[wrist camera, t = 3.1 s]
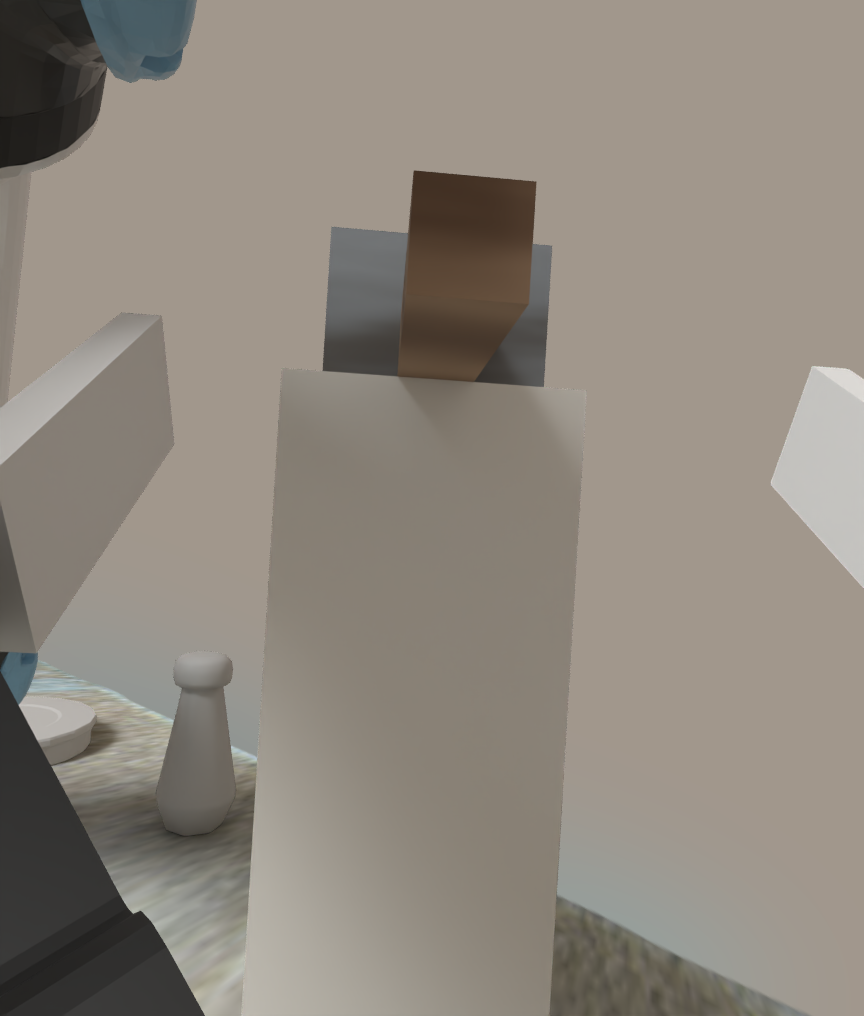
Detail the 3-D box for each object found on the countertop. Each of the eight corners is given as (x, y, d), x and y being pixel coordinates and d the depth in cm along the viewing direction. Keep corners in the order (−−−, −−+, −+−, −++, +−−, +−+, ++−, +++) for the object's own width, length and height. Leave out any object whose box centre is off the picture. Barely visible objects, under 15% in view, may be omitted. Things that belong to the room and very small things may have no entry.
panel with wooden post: (648, 313, 18) (662, 71, 18) (280, 284, 18) (296, 34, 18) (516, 411, 36) (524, 289, 36) (332, 398, 36) (340, 274, 36)
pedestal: (541, 1148, 29) (586, 390, 29) (233, 1147, 28) (281, 368, 28) (490, 940, 43) (520, 428, 43) (282, 936, 42) (315, 414, 42)
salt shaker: (217, 803, 60) (227, 644, 60) (245, 830, 56) (256, 658, 56) (143, 817, 57) (154, 649, 57) (167, 847, 52) (179, 664, 52)
